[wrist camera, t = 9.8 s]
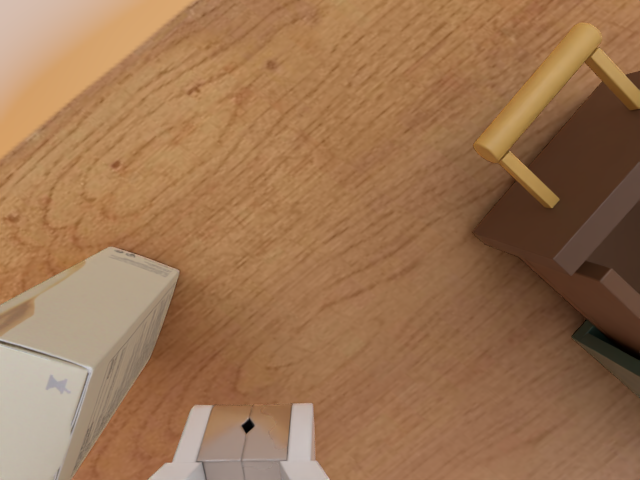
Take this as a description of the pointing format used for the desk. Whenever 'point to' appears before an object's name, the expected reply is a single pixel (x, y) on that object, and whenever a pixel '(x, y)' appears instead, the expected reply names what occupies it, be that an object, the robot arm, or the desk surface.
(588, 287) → the drawer
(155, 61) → the desk surface
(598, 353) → the cabinet
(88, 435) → the cosmetic box
